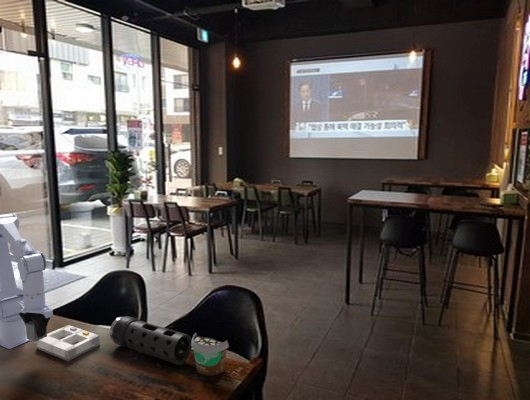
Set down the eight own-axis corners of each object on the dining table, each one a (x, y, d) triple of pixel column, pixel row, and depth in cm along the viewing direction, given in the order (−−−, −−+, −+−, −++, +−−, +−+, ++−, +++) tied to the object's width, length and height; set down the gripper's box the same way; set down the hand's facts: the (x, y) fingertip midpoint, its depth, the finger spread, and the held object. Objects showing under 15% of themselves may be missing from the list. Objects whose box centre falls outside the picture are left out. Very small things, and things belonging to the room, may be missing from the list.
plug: (27, 341, 128) (25, 323, 127) (39, 336, 131) (38, 318, 130) (35, 344, 126) (33, 326, 125) (47, 339, 129) (46, 321, 128)
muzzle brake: (172, 373, 124) (172, 341, 122) (108, 350, 137) (106, 320, 136) (192, 359, 132) (192, 329, 131) (130, 338, 145) (129, 310, 144)
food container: (183, 371, 125) (182, 340, 123) (195, 361, 130) (194, 332, 129) (218, 382, 120) (217, 350, 118) (228, 371, 125) (228, 340, 124)
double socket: (36, 348, 137) (36, 337, 137) (69, 334, 148) (68, 323, 147) (68, 361, 130) (67, 349, 129) (99, 345, 140) (99, 333, 140)
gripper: (6, 292, 126) (10, 333, 128) (35, 301, 119) (38, 345, 121) (29, 285, 132) (32, 325, 134) (58, 293, 126) (60, 335, 128)
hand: (36, 334), depth 128 cm, fingers closed on plug, 4 cm apart
